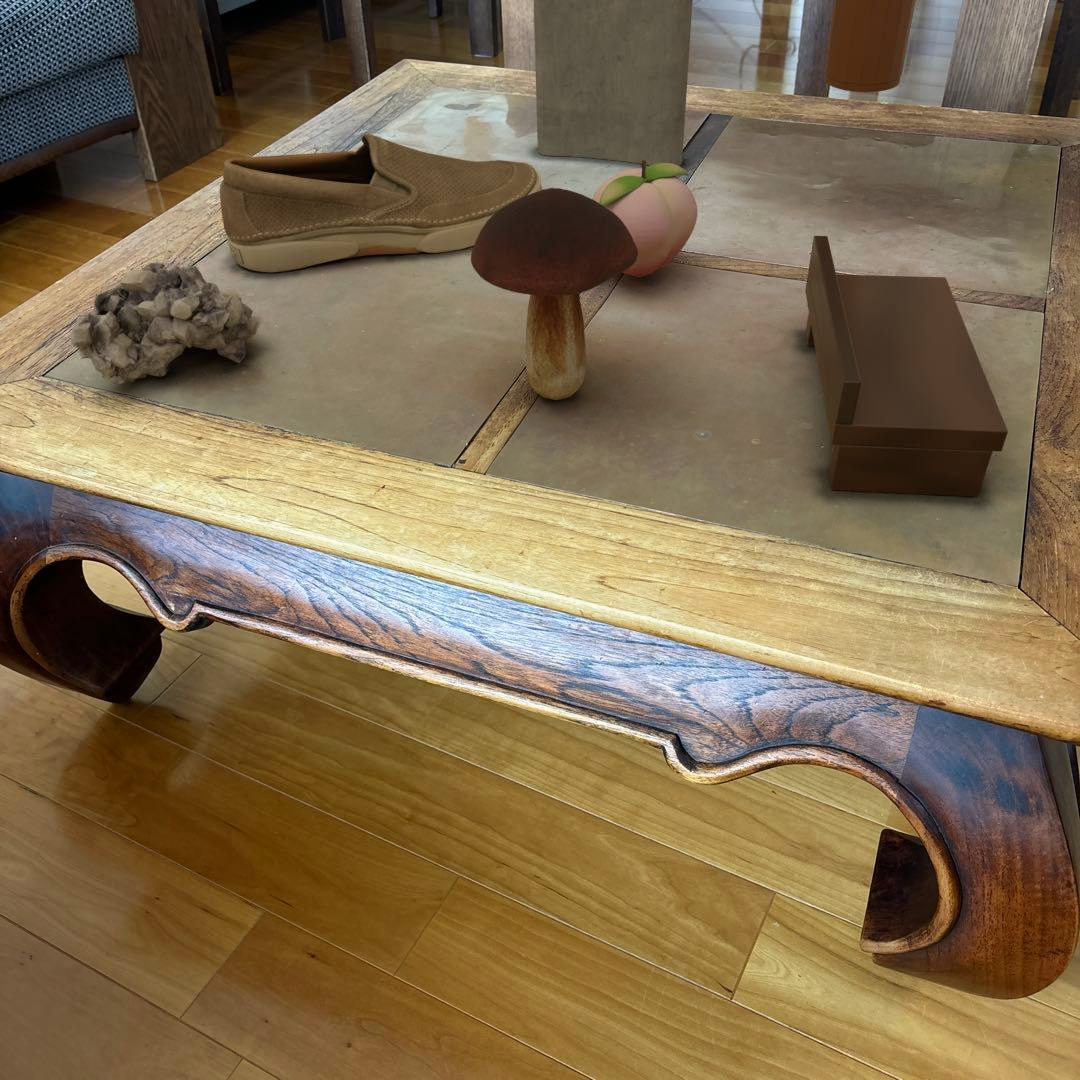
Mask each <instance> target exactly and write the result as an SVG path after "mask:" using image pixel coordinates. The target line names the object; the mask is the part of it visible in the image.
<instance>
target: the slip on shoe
mask: <svg viewBox="0 0 1080 1080" xmlns="http://www.w3.org/2000/svg"><path fill="white" fill-rule="evenodd" d="M361 142H362V145H361V146H360V147H358V148H357V150H345V151H333V152H331V151H330V152H318V153H317V152H316V153H300V154H299V153H298V154H283V155H282V154H281V155H279V154H278V155H263V156H248V157H247V156H246V157H235V158H234V157H233V158H229V159H226V160H225V161H224V163H223V169H222V178H223V179H222V181H221V183H220V185H219V202H220V211H221V219H222V224H223V229H224V232H225V234H226V236H227V243H228V247H229V250H230V253H231V255H232V257H233V259H235V261H236V263H237V264H238V265H239V266H240V267H242V268H244V269H248V270H251V271H255V272H261V273H279V272H287V271H293V270H299V269H303V268H307V267H311V266H315V265H320V264H324V263H328V262H332V261H337V260H342V259H349V258H356V257H357V258H358V257H363V256H375V255H396V254H397V255H398V254H399V255H402V254H419V253H421V252H424V253H429V254H433V253H434V254H437V253H445V252H453V251H458V250H463V249H466V248H470V247H474V244H475V241H476V239H477V237H478V235H479V233H480V231H481V229H482V228H483V226H484V225H485V224H486V222H487V221H488V220H489V219H490V218H491V217H492V216H493V215H494V214H495V213H496V212H497V211H498V210H500V209H501V208H503V207H505V206H506V205H508V204H509V203H511V202H513V201H515V200H517V199H520V198H522V197H524V196H527V195H530V194H532V193H535V192H538V191H540V190H543V187H542V179H541V176H540V173H539V172H538V171H537V170H536V169H535V167H534V166H533V165H531V164H529V163H527V162H522V161H521V162H518V161H511V160H503V159H502V160H501V159H497V160H484V161H481V160H480V161H473V160H466V159H462V158H456V157H451V156H446V155H440V154H435V153H430V152H425V151H421V150H418V149H415V148H412V147H408V146H405V145H402V144H399V143H396V142H393V141H391V140H388V139H386V138H383V137H381V136H377V135H373V134H371V133H364V134H363V135H362V136H361Z"/></svg>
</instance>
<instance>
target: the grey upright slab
mask: <svg viewBox="0 0 1080 1080" xmlns="http://www.w3.org/2000/svg"><path fill="white" fill-rule="evenodd" d="M692 14H693V0H533V29H534V58H535V59H534V63H535V64H534V65H535V66H534V67H535V94H536V95H535V97H536V98H535V101H536V104H535V105H536V136H537V153H539V154H540V155H543V156H547V157H571V158H572V157H575V158H587V159H598V160H608V161H615V162H616V161H617V162H626V163H633V164H637V165H642V160H646V166H650V165H653V164H657V163H671V164H675V165H678V166H680V167H681V166H682V164H683V158H684V157H683V156H684V142H685V141H684V138H685V125H686V123H685V122H686V109H687V93H688V92H687V91H688V79H689V78H688V77H689V63H690V62H689V61H690V45H691V33H692V32H691V31H692V17H693V15H692Z"/></svg>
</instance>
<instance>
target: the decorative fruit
mask: <svg viewBox="0 0 1080 1080" xmlns="http://www.w3.org/2000/svg"><path fill="white" fill-rule="evenodd" d="M678 176H687V177H688V176H690V174H689V173H688V172H687V171H686V170H685V169H684V168H683V167H681V165H680V166H678V165H675V164H671V163H657V164H653V165H646V160H642V164H641V168H640V167H638V168H631V169H626V170H622V171H619V172H618V173H616V174H614V175H612V176H611V177H609V178H608V179H606V180H605V181H604V182H603V183H602V184H601V185H600V186H599V187H598V188H597V189H596V191H595V192H594V193H593V196H592V197H591V199H593V200H595V201H596V202H598V203H599V204H601V205H603V206H604V207H606V208H607V209H609V210H610V211H612V212H613V213H614V214H615V215H617V216H618V217H619V218H620V219H621V221H622V222H623V223H624V224H625V226H626V227H627V229H628V231H629V232H630V234H631V236H632V238H633V240H634V242H635V244H636V246H637V250H638V257H637V260H636V262H635V263H634V264H633V265H632V266H631V267H630V268H629V269H627V270H625V271H623V272H621V273H622V274H626V275H628V276H633V277H637V278H643V277H646V276H647V275H650V274H652V273H654V272H655V271H657V270H659V269H661V268H664V267H665V266H666V265H668V264H669V263H670V262H672V261H673V259H675V258H676V257H677V256H678V254H679V253H681V251H682V250H683V248H684V247H685V245H686V244H687V243H688V241H689V239H690V237H691V235H692V234H693V231H694V230H695V228H696V227H695V226H696V224H697V219H698V205H697V202H696V199H695V196H694V194H693V192H692V190H691V189H690V187H689V186H688V184H686V183H685V182H684V181H683V180H682V179H680V178H679V177H678Z"/></svg>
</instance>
